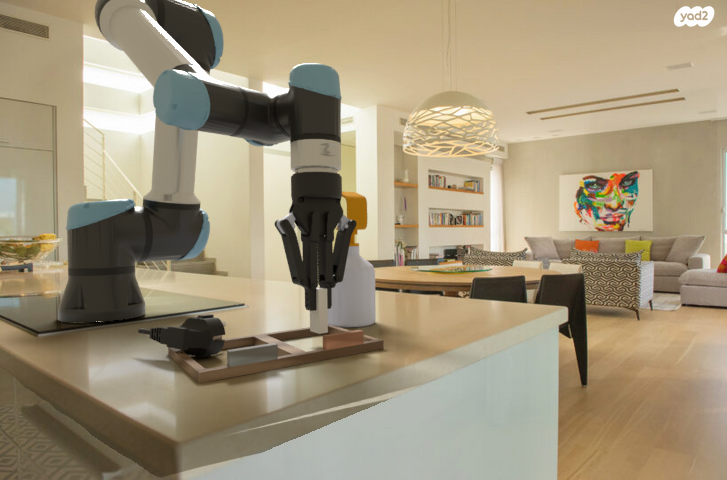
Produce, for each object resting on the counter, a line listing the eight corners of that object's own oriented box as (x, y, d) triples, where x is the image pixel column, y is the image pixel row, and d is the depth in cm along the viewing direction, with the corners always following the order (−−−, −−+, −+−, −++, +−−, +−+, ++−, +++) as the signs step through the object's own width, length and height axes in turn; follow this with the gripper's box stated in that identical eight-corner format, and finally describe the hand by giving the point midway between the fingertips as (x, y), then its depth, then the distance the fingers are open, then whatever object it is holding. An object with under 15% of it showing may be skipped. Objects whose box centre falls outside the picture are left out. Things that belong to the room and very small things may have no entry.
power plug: (136, 310, 64) (198, 319, 59) (180, 307, 71) (240, 314, 66) (133, 352, 64) (196, 364, 59) (178, 344, 71) (238, 355, 65)
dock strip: (168, 355, 64) (167, 334, 64) (329, 331, 79) (329, 313, 79) (199, 383, 52) (199, 356, 52) (383, 348, 67) (383, 327, 67)
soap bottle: (359, 317, 93) (358, 193, 93) (384, 324, 85) (383, 189, 85) (318, 322, 88) (317, 192, 88) (341, 330, 80) (339, 187, 80)
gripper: (287, 166, 62) (290, 342, 63) (366, 173, 70) (369, 330, 70) (264, 173, 68) (267, 333, 69) (340, 178, 76) (342, 322, 76)
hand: (318, 331), depth 69 cm, fingers closed
